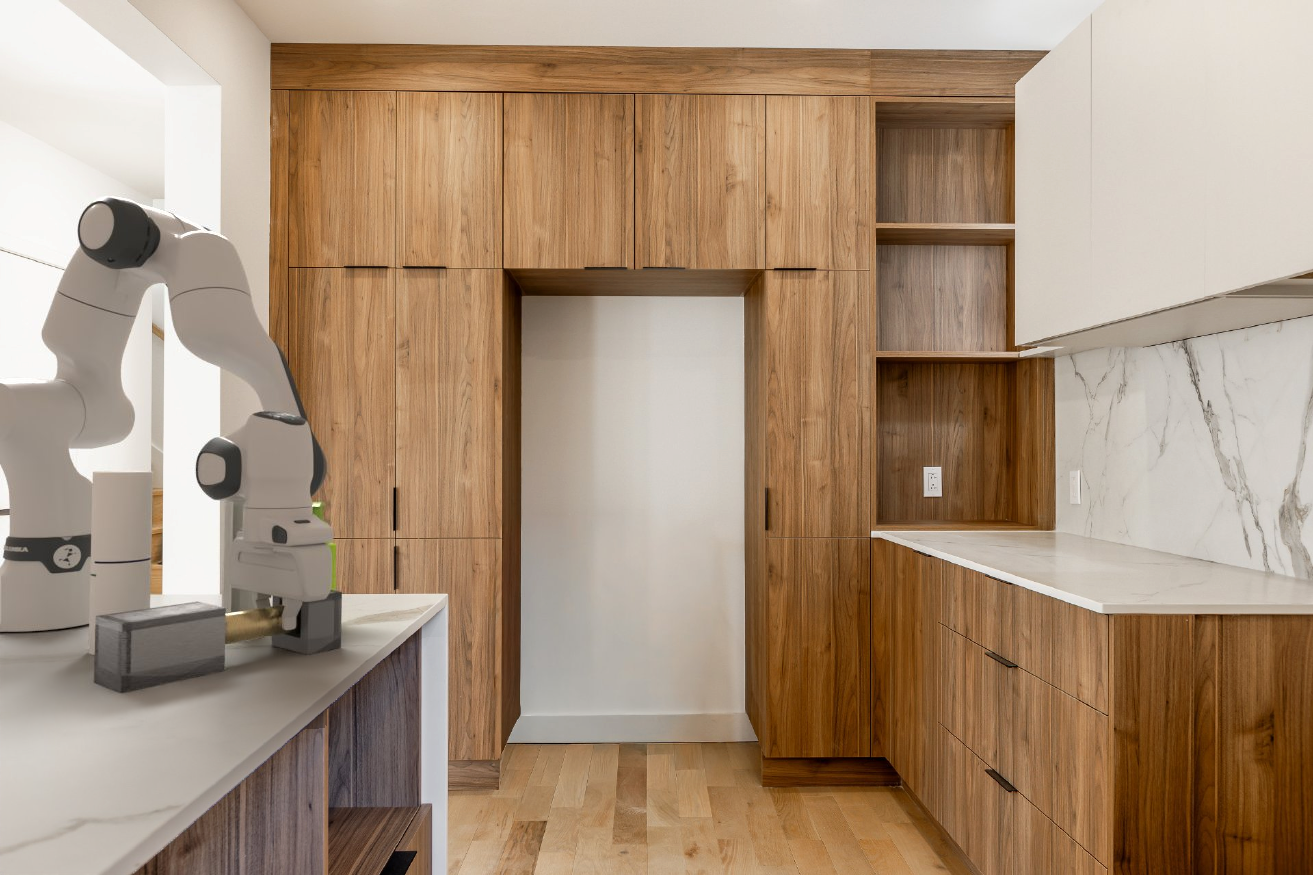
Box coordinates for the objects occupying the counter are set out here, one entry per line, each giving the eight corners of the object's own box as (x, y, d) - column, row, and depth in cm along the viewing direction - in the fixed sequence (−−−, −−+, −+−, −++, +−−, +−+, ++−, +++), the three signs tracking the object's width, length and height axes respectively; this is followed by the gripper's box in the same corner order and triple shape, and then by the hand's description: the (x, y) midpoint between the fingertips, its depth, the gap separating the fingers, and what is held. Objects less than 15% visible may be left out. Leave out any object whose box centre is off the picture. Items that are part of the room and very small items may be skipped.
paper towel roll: (247, 625, 131) (250, 492, 132) (272, 629, 128) (275, 493, 129) (205, 633, 125) (207, 494, 125) (230, 638, 122) (233, 495, 122)
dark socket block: (307, 654, 113) (308, 596, 113) (271, 645, 118) (272, 589, 118) (340, 647, 117) (341, 591, 117) (304, 638, 122) (305, 585, 122)
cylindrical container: (119, 657, 110) (123, 472, 111) (75, 653, 112) (79, 471, 112) (161, 644, 117) (165, 471, 118) (119, 642, 119) (123, 470, 119)
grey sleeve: (120, 692, 94) (122, 623, 95) (93, 682, 98) (95, 615, 99) (224, 670, 104) (225, 607, 104) (196, 661, 108) (197, 601, 109)
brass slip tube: (199, 655, 103) (200, 619, 103) (181, 650, 106) (182, 614, 106) (314, 633, 116) (315, 601, 116) (296, 629, 119) (297, 597, 119)
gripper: (217, 524, 117) (215, 620, 117) (298, 534, 106) (296, 641, 105) (259, 521, 123) (257, 614, 122) (341, 530, 111) (339, 632, 111)
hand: (276, 626), depth 114 cm, fingers closed on brass slip tube, 4 cm apart
